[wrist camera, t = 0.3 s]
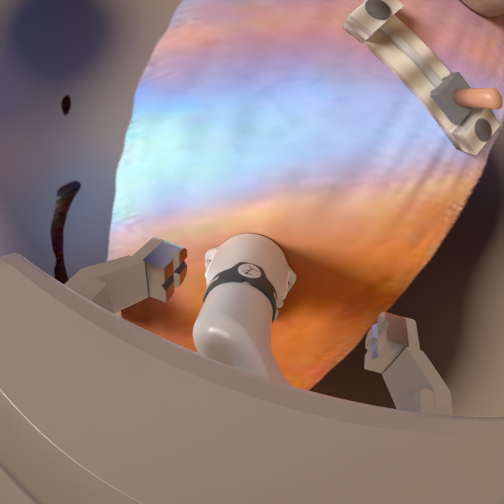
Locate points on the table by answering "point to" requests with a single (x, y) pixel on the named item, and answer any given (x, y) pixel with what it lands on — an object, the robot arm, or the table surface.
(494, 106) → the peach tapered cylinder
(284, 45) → the table surface
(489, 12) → the planter
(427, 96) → the rail track
